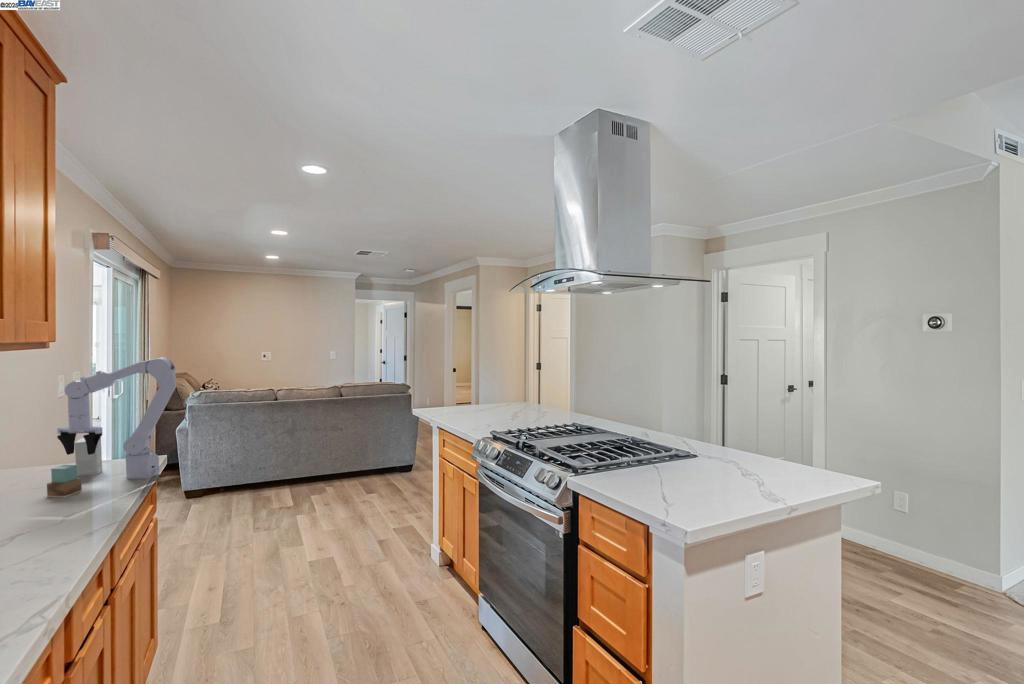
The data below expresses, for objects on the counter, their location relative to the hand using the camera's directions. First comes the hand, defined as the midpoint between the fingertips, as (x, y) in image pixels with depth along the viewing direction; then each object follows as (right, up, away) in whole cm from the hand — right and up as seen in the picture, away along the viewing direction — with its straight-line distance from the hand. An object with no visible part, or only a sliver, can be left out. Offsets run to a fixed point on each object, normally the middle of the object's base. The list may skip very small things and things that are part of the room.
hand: (80, 453), depth 181 cm
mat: (+5, -11, -12) cm, 17 cm away
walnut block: (+5, -10, -12) cm, 16 cm away
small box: (-6, -10, +12) cm, 17 cm away
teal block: (+5, -6, -12) cm, 14 cm away
